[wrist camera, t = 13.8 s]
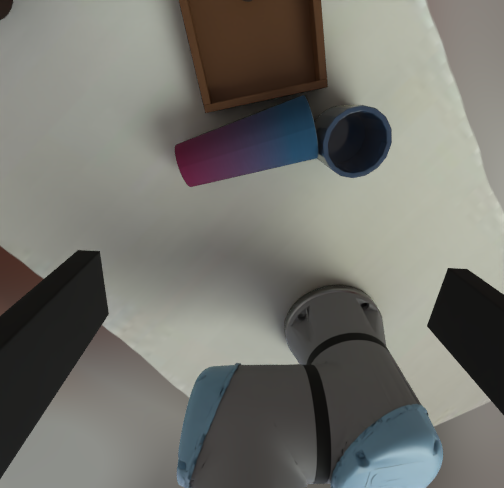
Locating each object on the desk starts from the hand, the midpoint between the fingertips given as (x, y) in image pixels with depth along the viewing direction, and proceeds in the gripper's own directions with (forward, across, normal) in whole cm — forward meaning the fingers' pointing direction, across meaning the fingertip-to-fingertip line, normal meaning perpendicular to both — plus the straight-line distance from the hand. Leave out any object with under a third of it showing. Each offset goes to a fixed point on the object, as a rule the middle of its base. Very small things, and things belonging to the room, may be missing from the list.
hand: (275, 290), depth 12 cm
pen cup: (+29, -10, -4) cm, 31 cm away
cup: (+26, +8, 0) cm, 28 cm away
